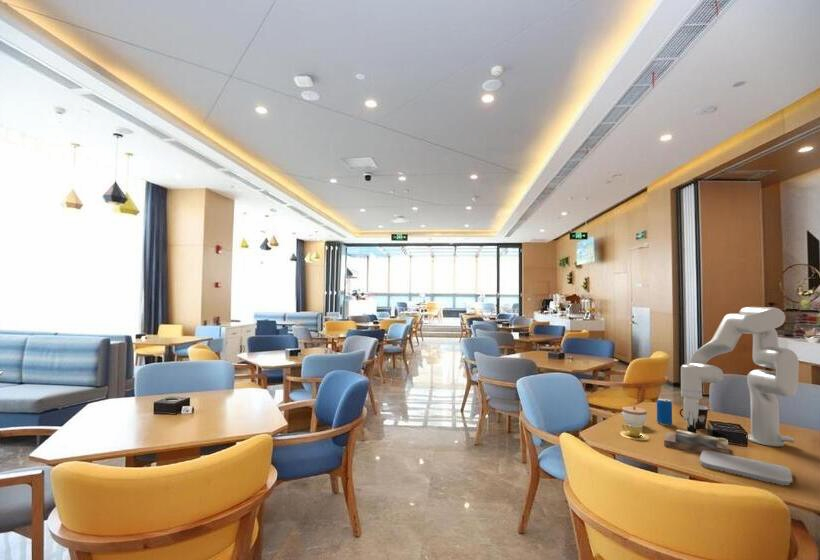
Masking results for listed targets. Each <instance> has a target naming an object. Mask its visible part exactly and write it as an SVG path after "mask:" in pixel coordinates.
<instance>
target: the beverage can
mask: <svg viewBox="0 0 820 560" xmlns="http://www.w3.org/2000/svg"><path fill="white" fill-rule="evenodd" d="M656 422H657V423H658V424H659V423H660V425H662V424H663V425H664V426H671V425H672V424H673V403H672V399H669V398H664V397H663V398H662V397H660V398H659V397H658V398H657V400H656Z"/></svg>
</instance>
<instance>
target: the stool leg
mask: <svg viewBox="0 0 820 560" xmlns="http://www.w3.org/2000/svg"><path fill="white" fill-rule="evenodd" d="M675 433H676V434H681V435H686V436H692V437H698V438H703V439H709V440H715V441H717V447H718V448H722V449H727V448H728V447H729V440H728V439H727V438H724V437H716V436H710V435H706V434H700V433H697V432H696V433H693V432H688V431H687V430H683V429H676V430H675Z"/></svg>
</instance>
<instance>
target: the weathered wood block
mask: <svg viewBox="0 0 820 560" xmlns="http://www.w3.org/2000/svg"><path fill="white" fill-rule="evenodd" d="M663 440H664V441H663V442H664V443H663V445H664V447H667V446H668V447H667V448H672V447H673V449H677V450H682V449H683V451H687V450H688V452H694V453H699V454H701V453H702V451H704V450H709V451H714V452H719V453H724V454H729V455H731V454H730V448H729V446H728V448H727V449H722V448H718V447H717V441H715V440H709V439H703V438H698V437H692V436H686V435H681V434H676V432H670V431H666V432H665V435H664V439H663Z"/></svg>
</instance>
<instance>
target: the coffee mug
mask: <svg viewBox="0 0 820 560" xmlns="http://www.w3.org/2000/svg"><path fill="white" fill-rule="evenodd" d="M682 411H684V408H681V409H680V410H679V415H680V416H681V417H682V418H683V419H684V415H682ZM708 412H709V408H708V406H704V405H699V411H698V419H697V422H696V430H699V429H705V428H706V427H707V419H708ZM686 421H688V418H687V420H686ZM706 429H707V428H706ZM706 429H705V430H706Z"/></svg>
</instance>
